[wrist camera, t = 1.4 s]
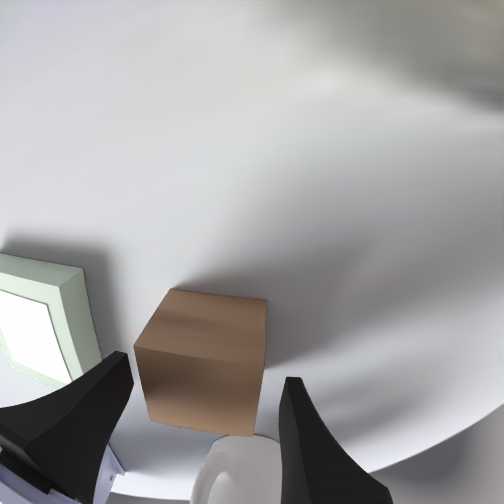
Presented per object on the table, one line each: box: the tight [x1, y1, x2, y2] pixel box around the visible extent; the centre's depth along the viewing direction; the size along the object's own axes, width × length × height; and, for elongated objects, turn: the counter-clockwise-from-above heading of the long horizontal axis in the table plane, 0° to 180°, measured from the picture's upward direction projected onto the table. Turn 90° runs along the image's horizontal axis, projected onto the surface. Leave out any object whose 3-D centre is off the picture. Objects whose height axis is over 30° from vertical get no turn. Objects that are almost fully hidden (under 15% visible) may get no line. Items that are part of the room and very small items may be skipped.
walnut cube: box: [134, 289, 266, 437], centre depth 13 cm, size 5×5×5 cm
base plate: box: [0, 253, 103, 389], centre depth 15 cm, size 9×9×3 cm
